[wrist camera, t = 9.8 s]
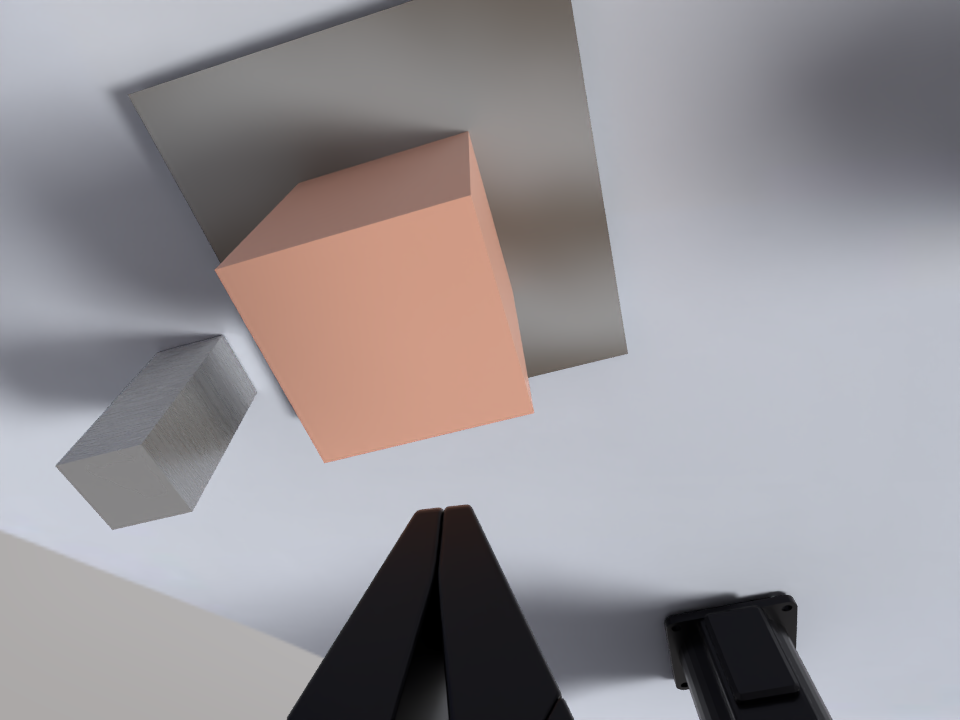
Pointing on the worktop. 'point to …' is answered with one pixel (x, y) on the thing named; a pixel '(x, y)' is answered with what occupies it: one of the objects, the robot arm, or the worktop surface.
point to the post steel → (162, 435)
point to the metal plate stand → (417, 143)
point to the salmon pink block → (385, 302)
